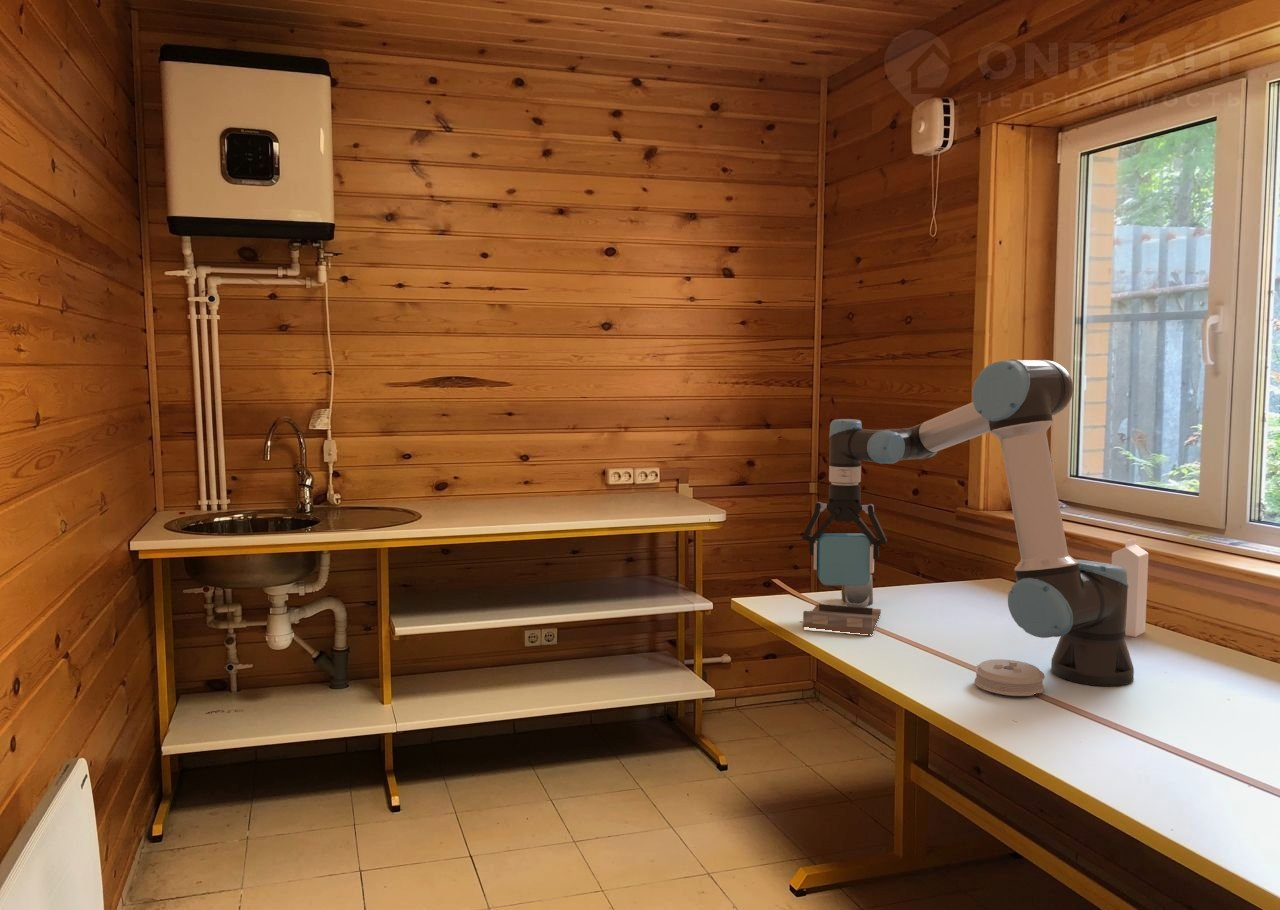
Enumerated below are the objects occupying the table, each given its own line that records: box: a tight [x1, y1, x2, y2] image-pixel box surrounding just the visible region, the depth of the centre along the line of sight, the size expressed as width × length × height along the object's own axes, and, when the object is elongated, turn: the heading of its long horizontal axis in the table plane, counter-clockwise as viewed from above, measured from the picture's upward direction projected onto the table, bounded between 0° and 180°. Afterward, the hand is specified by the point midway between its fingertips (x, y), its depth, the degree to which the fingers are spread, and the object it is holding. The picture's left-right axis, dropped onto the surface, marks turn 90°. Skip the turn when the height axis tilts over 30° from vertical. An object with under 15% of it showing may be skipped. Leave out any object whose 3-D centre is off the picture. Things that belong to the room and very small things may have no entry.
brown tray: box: [802, 603, 882, 636], centre depth 235 cm, size 20×16×4 cm
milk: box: [1111, 537, 1149, 638], centre depth 224 cm, size 6×6×22 cm
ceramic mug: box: [840, 573, 874, 607], centre depth 252 cm, size 11×8×8 cm
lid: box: [974, 658, 1046, 697], centre depth 187 cm, size 13×13×5 cm
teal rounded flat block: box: [817, 532, 871, 586], centre depth 233 cm, size 12×4×12 cm, turn 87°
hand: (843, 570), depth 234 cm, fingers closed on teal rounded flat block, 13 cm apart
